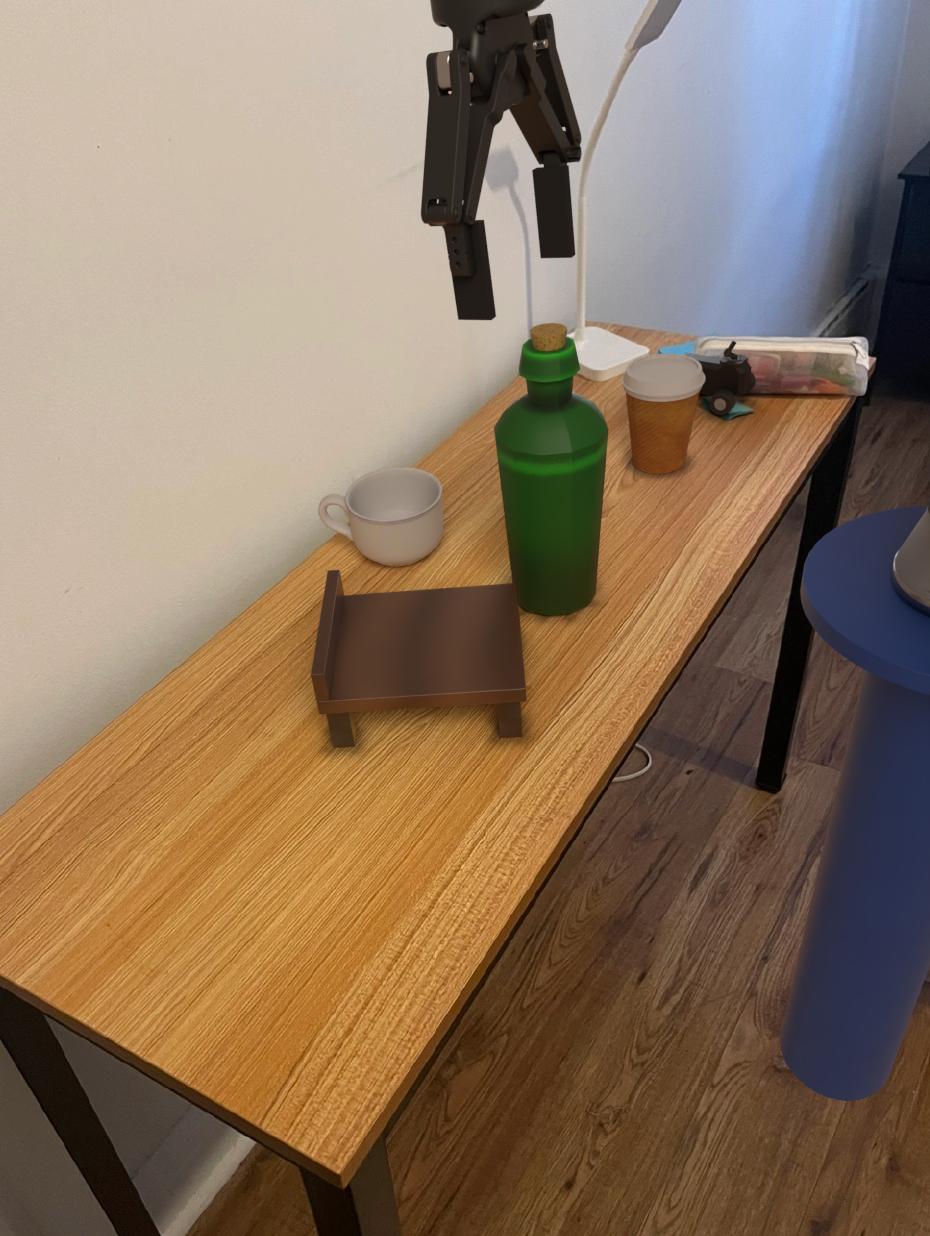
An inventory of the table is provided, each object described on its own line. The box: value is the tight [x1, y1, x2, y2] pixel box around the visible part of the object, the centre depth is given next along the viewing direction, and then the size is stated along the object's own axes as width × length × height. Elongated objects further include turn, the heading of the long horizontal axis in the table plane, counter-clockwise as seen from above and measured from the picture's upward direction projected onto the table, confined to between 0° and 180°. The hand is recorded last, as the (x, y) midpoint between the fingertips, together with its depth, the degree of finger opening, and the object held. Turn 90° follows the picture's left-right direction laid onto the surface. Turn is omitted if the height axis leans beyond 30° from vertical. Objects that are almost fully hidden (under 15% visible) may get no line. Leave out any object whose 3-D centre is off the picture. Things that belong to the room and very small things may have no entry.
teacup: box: [317, 466, 445, 568], centre depth 114 cm, size 14×11×8 cm
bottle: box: [493, 322, 609, 616], centre depth 98 cm, size 11×11×28 cm
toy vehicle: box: [683, 340, 757, 416], centre depth 135 cm, size 8×15×9 cm, turn 53°
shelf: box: [310, 569, 528, 749], centre depth 94 cm, size 18×16×9 cm
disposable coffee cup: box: [621, 353, 705, 475], centre depth 122 cm, size 10×10×12 cm
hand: (519, 286), depth 77 cm, fingers open, 13 cm apart
